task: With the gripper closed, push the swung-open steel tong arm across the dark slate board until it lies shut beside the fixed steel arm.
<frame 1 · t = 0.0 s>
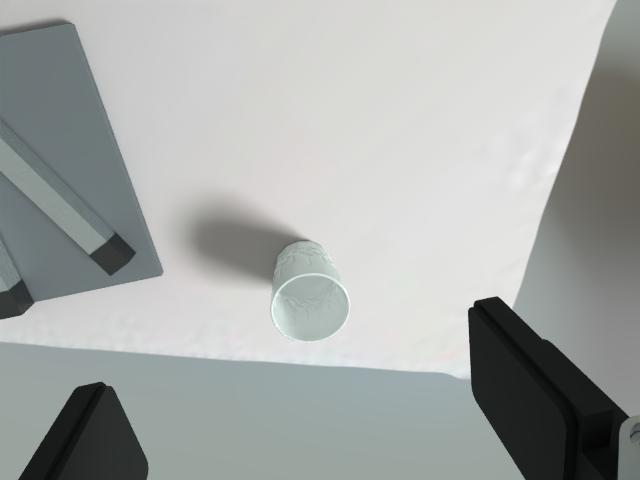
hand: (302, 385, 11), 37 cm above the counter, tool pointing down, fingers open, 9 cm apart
slate board: (27, 181, 43), on the counter
white cup: (303, 265, 50), on the counter
moving tong arm: (18, 179, 40), point 3 cm above the counter, hinge at 25.0°
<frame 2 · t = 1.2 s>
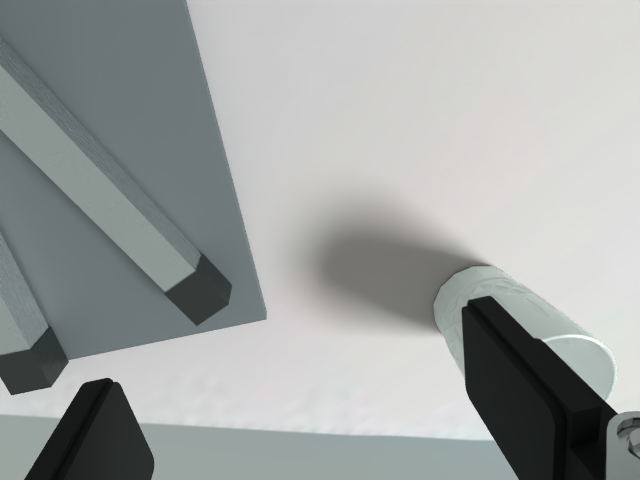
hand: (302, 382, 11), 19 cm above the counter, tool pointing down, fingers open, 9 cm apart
slate board: (62, 169, 26), on the counter
white cup: (472, 301, 33), on the counter
moving tong arm: (50, 165, 23), point 3 cm above the counter, hinge at 25.0°
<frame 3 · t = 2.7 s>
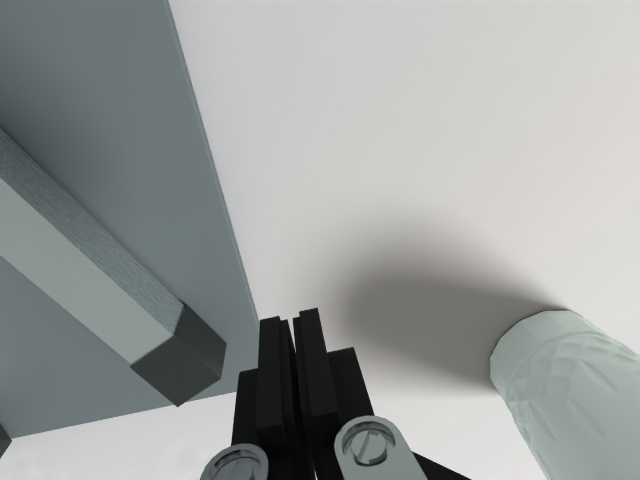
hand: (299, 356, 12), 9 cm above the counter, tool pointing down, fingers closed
white cup: (539, 353, 26), on the counter
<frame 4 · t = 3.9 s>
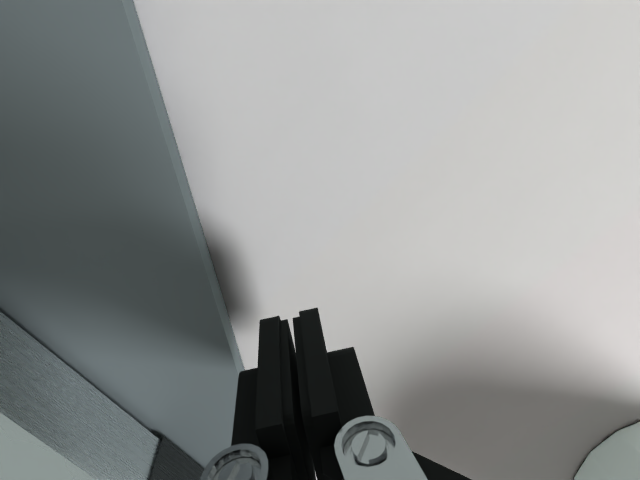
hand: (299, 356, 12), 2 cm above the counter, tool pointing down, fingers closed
white cup: (636, 466, 19), on the counter
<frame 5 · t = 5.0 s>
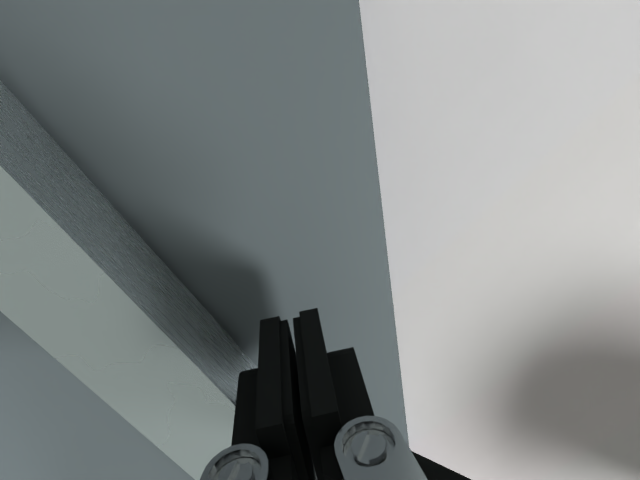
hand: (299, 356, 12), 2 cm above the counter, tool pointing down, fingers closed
slate board: (41, 239, 12), on the counter
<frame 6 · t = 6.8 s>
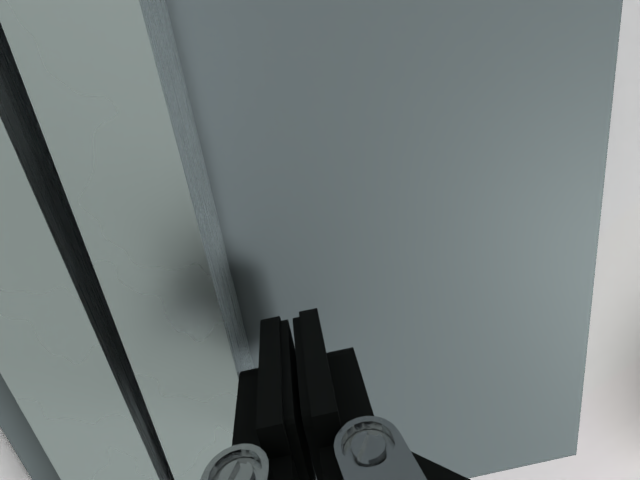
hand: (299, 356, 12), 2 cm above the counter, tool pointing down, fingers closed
slate board: (268, 187, 13), on the counter
moving tong arm: (116, 264, 10), point 3 cm above the counter, hinge at -1.4°, touching gripper
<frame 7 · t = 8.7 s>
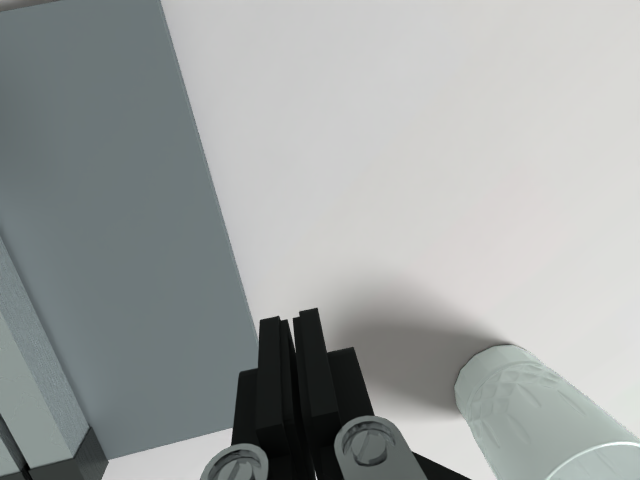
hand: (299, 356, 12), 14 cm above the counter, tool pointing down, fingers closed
slate board: (58, 271, 24), on the counter
white cup: (494, 381, 31), on the counter
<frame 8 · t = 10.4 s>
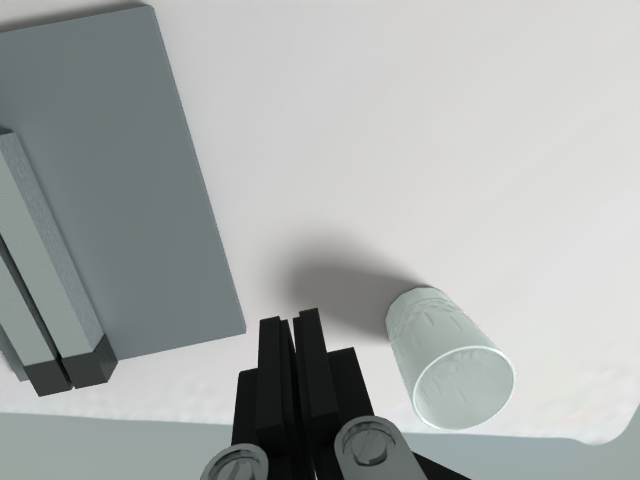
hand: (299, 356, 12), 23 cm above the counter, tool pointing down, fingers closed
slate board: (80, 216, 33), on the counter
white cup: (418, 316, 40), on the counter
moving tong arm: (17, 244, 30), point 3 cm above the counter, hinge at -0.6°
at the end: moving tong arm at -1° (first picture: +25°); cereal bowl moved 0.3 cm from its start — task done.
